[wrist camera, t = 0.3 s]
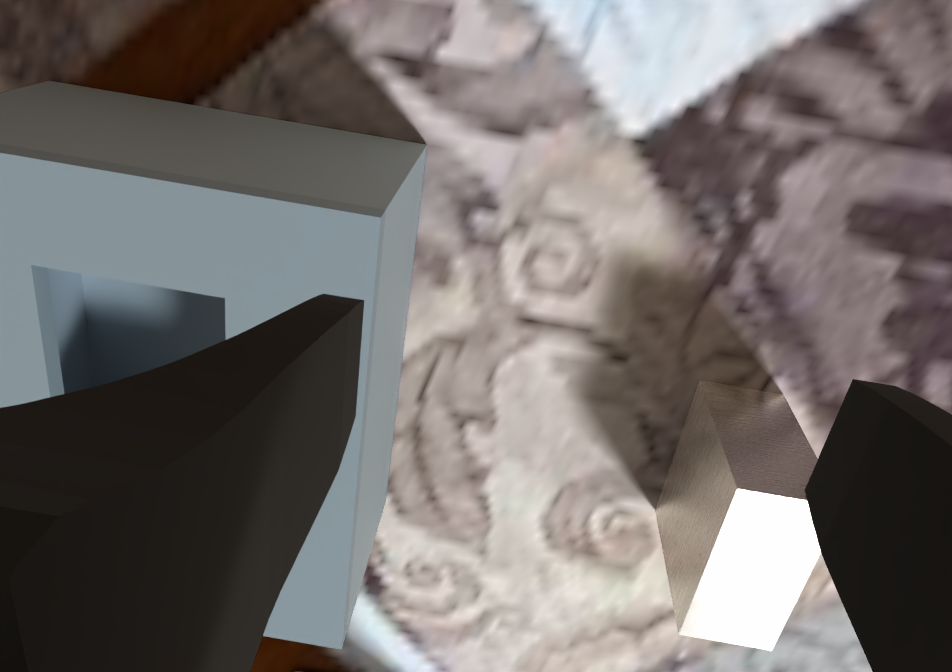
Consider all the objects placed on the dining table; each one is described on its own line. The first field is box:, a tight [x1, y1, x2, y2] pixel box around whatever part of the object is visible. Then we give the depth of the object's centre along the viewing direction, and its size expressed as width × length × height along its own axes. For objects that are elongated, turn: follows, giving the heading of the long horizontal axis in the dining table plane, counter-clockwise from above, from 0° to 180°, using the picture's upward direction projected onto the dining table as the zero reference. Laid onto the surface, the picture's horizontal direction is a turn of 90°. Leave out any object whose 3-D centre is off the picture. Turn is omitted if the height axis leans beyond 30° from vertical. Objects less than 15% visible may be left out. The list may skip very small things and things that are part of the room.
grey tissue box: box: [0, 81, 427, 650], centre depth 19 cm, size 12×10×6 cm
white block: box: [655, 380, 821, 651], centre depth 21 cm, size 5×2×5 cm, turn 172°
